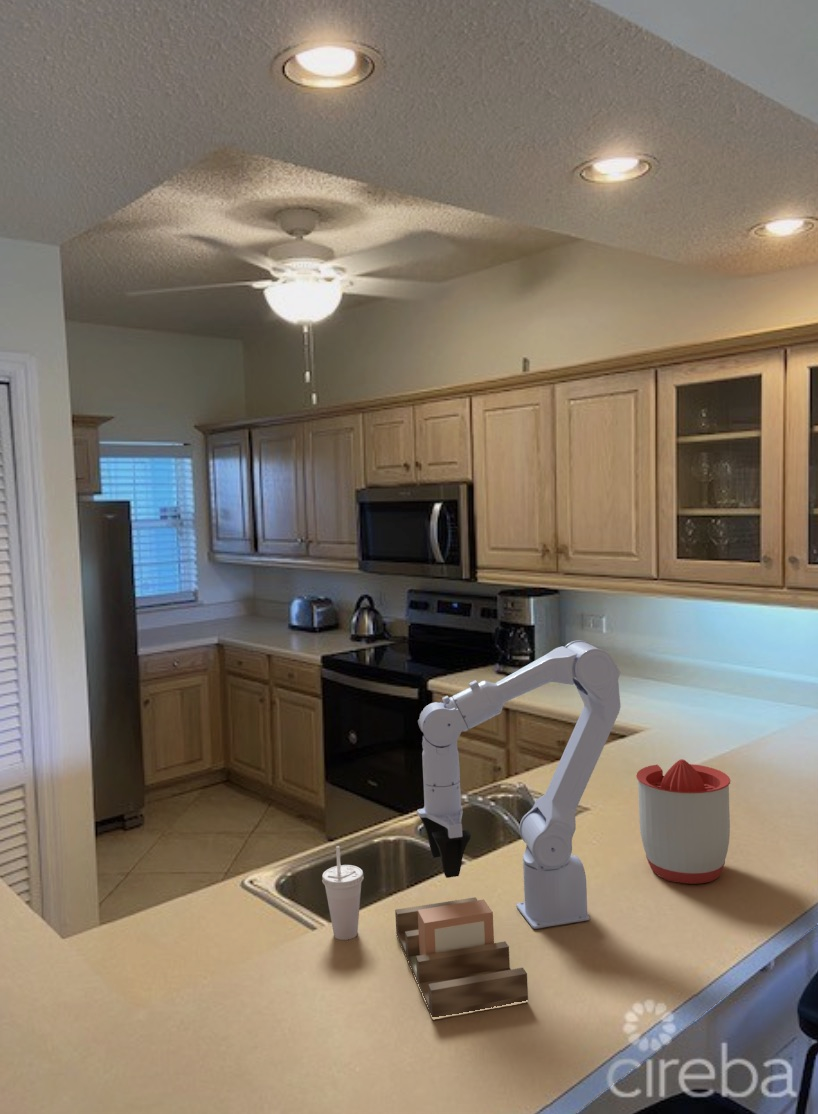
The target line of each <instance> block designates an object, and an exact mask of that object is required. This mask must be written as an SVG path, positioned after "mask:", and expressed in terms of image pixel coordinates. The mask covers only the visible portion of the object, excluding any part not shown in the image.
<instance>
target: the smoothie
mask: <svg viewBox="0 0 818 1114" xmlns="http://www.w3.org/2000/svg"><path fill="white" fill-rule="evenodd" d="M340 848H341V847H340V845H336V846H335V851H336V853H335V854H336V865H335V866H331V867H330V868H328V869H326V870H325V871H323V873H322V880H321V882H322V884H323V885H324V886H325V894H326V899H327V903H328V904H327V905H328V910H329V915H330V916H329V917H330V921H331V925H332V926H331V927H332V931H333V932H332V933H333V937H334V938H335V939H336V940H341V941H347V940H348V939H349V940H351V939H354V938H356V936H357V935H358V931H359V918H360V903H361V892H362V891H361V889H362V882H363V881H364V872H363V869H361V868H360V867H359V866H356V865H352V864H342V865H341V849H340Z"/></svg>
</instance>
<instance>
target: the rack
mask: <svg viewBox="0 0 818 1114" xmlns="http://www.w3.org/2000/svg"><path fill="white" fill-rule="evenodd" d="M477 900H478V898H477V897H469V898H461V899H455V900H450V901H443V902H442V901H441V902H435V903H429V904H424V905H418V906H411V907H404V908H397V909H395V910H394V911H395V913H394V914H395V930H396V934H397V935H396V937H397V936H398V937H397V940H398V939H399V940H398V942H399V941H400V942H399V944H400V943H401V945H400V946H402V947H401V949H402V948H403V949H402V951H403V950H404V952H405V954H406V956H405V958H406V957H407V959H408V961H409V964H410V966H411V968H412V970H413V973H414V975H415V977H416V980H417V982H418V984H419V987H420V989H421V991H422V993H423V996H424V998H425V1000H426V1003H427V1005H428V1008H429V1011H430V1013H431V1015H432V1017H439V1016H446V1015H452V1014H459V1013H463V1012H469V1011H475V1010H480V1009H485V1008H491V1007H492V1008H493V1007H494V1006H496V1007H497V1006H502V1005H506V1004H511V1003H514V1002H522V1001H526V1000H528V1001H529V991H528V990H529V989H528V973H527V971H526V970H525V969H524V967H518V968H512V969H511V965H510V946H509V945H508V943H507V942H506V941H500V942H494V943H492V944H486V945H480V946H474V947H468V948H462V949H457V950H451V951H445V952H439V953H433V954H427V955H421V956H420V951H419V929H418V910H420V909H427V908H433V907H439V906H446V905H452V904H458V903H464V902H471V901H477ZM404 952H403V953H404ZM405 954H404V955H405ZM407 959H406V960H407ZM408 961H407V962H408ZM409 964H408V965H409ZM410 966H409V967H410ZM411 968H410V969H411ZM413 973H412V974H413ZM414 975H413V976H414ZM416 980H415V981H416ZM419 987H418V988H419ZM429 1011H428V1012H429ZM430 1013H429V1014H430Z"/></svg>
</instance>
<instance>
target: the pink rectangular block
mask: <svg viewBox="0 0 818 1114" xmlns="http://www.w3.org/2000/svg"><path fill="white" fill-rule="evenodd" d="M418 929H419V951H420V956H421V955H427V954H433V953H439V952H445V951H451V950H457V949H462V948H468V947H474V946H480V945H486V944H492V943H495V935H494V934H495V933H494V912H493V910H492V909H491V907H490V906H489V905H488V903H487V902H486V900H485V899H477V901H471V902H464V903H458V904H452V905H446V906H439V907H433V908H427V909H420V910H418Z"/></svg>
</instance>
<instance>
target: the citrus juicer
mask: <svg viewBox="0 0 818 1114" xmlns="http://www.w3.org/2000/svg"><path fill="white" fill-rule="evenodd" d="M635 777H636V779H637V787H638V788H637V789H638V817H639V819H638V820H639V831H640V837H641V841H642V846H643V850H644V853H645V858H646V860H647V862H648V864H649V866H650V869H651V871H652V872H653V873H654V874H655V875H657V876H659V877H660V878H662V879H664V880H666V881H668V882H675V883H681V884H691V885H692V884H693V885H694V884H696V885H697V884H704V883H709V882H714V880H717V879H718V878H719V877H720V875H721V873H722V871H723V869H724V866H725V864H726V858H727V855H728V851H729V845H730V833H731V832H730V831H731V824H730V823H731V820H730V784H731V779H730V776H728V775H727V774H726V773H725V772H723V771H721V770H720V769H719V770H718V769H716V768H713V767H709V766H705V765H700V764H692V763H689V762H688V761H686V759H682V758H681V759H679V760H678V761H677V760H676V762H675V763H674V764H673V765H672V766H671V767H670V768H669V769H668V770H667V771H666V773H665V774H664V772H663V768H661V766H660V765H658V764H654V765H648V766H645V767H642V768H640V769H639V770H638V771H637V773H636V776H635Z"/></svg>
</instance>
